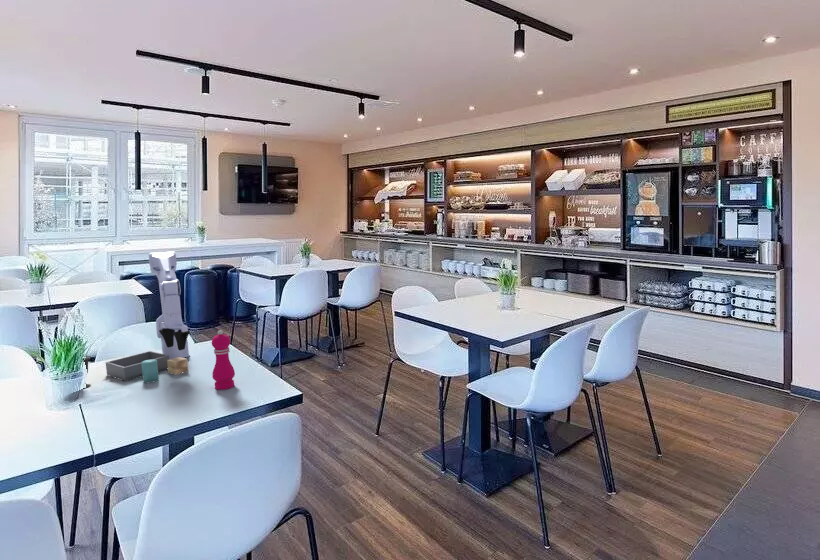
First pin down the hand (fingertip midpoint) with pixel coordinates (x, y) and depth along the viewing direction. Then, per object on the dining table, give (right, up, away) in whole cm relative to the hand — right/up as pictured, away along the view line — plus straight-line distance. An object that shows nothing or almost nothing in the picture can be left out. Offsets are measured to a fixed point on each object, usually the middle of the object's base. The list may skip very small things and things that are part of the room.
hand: (175, 348), depth 192 cm
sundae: (-27, -12, -13) cm, 32 cm away
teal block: (-6, -11, -7) cm, 14 cm away
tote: (-15, -9, +3) cm, 18 cm away
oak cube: (0, -9, +1) cm, 9 cm away
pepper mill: (+24, -11, -16) cm, 31 cm away
